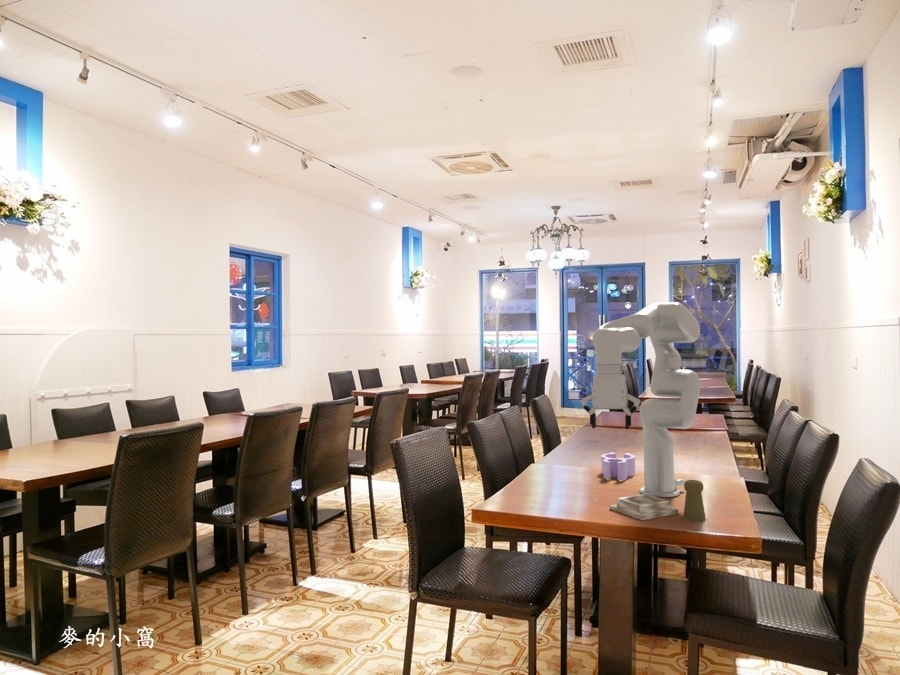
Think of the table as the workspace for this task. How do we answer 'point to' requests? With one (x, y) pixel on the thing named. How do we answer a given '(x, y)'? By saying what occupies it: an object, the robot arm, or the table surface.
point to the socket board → (644, 507)
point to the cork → (694, 501)
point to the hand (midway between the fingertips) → (610, 428)
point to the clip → (618, 466)
